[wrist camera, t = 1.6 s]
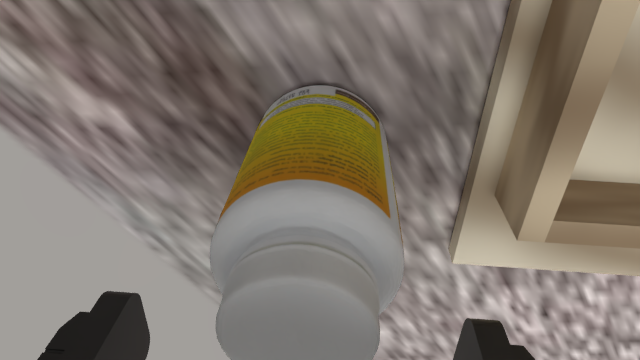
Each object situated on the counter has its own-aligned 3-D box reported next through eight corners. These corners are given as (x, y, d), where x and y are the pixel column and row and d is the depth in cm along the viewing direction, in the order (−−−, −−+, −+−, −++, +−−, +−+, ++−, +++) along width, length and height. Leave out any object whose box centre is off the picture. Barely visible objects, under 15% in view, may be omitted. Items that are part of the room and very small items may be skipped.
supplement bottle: (236, 103, 18) (133, 280, 10) (365, 62, 17) (379, 222, 8) (286, 207, 21) (240, 419, 12) (400, 178, 20) (438, 391, 11)
